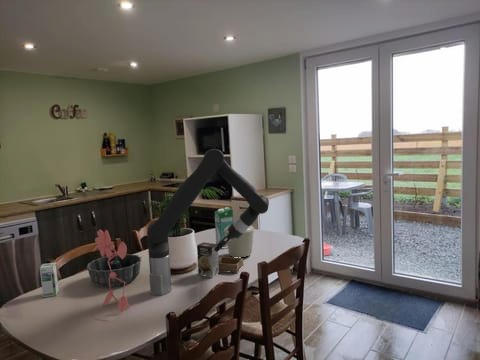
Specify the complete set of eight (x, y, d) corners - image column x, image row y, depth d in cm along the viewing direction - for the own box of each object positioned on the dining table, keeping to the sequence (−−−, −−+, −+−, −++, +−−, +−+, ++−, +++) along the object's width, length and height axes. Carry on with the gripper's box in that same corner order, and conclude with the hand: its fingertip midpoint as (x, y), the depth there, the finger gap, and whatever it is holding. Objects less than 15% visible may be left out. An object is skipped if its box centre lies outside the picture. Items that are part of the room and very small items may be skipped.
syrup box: (42, 297, 167) (39, 267, 165) (45, 292, 172) (42, 263, 170) (56, 296, 168) (53, 265, 166) (58, 291, 174) (55, 261, 172)
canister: (256, 260, 206) (254, 224, 203) (224, 261, 206) (222, 225, 204) (255, 250, 224) (254, 217, 221) (226, 251, 224) (224, 218, 222)
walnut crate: (237, 273, 187) (236, 265, 186) (214, 271, 191) (213, 263, 191) (243, 266, 197) (243, 258, 196) (221, 264, 201) (221, 256, 200)
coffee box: (197, 275, 186) (196, 245, 184) (204, 271, 192) (203, 241, 190) (212, 278, 182) (211, 247, 180) (219, 273, 188) (218, 243, 186)
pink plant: (109, 296, 165) (101, 221, 160) (143, 312, 149) (135, 229, 144) (76, 310, 153) (66, 230, 148) (109, 328, 137) (100, 239, 132)
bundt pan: (98, 272, 196) (96, 255, 195) (147, 269, 198) (145, 251, 197) (80, 293, 170) (78, 272, 169) (137, 289, 172) (135, 269, 171)
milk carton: (216, 245, 237) (214, 208, 234) (228, 243, 241) (227, 206, 238) (221, 249, 229) (219, 210, 226) (234, 246, 233) (232, 208, 230)
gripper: (238, 218, 185) (219, 238, 190) (228, 224, 172) (208, 246, 177) (248, 228, 184) (228, 249, 189) (239, 236, 171) (218, 258, 176)
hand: (218, 247), depth 183 cm, fingers open, 8 cm apart
